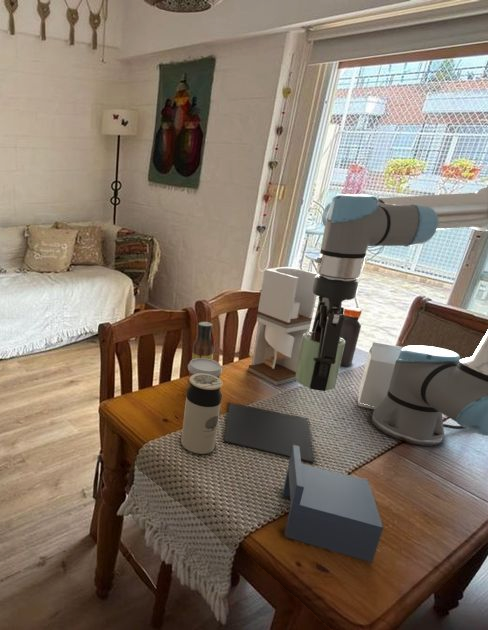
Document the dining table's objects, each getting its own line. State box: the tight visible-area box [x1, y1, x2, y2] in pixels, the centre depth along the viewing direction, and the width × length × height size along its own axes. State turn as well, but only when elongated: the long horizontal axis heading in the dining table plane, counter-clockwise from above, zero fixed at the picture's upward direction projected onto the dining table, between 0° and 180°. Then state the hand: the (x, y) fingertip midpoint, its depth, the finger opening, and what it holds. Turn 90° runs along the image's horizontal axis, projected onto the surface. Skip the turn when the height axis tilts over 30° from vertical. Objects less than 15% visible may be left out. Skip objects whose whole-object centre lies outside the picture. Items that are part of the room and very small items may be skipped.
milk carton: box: [357, 341, 405, 411], centre depth 125 cm, size 7×7×19 cm
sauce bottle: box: [191, 321, 214, 360], centre depth 137 cm, size 7×6×20 cm
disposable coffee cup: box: [187, 358, 223, 387], centre depth 127 cm, size 10×10×12 cm
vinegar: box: [340, 306, 362, 367], centre depth 152 cm, size 7×7×20 cm
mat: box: [223, 402, 314, 464], centre depth 115 cm, size 20×20×1 cm
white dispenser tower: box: [247, 265, 319, 386], centre depth 140 cm, size 11×11×35 cm
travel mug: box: [180, 373, 223, 455], centre depth 106 cm, size 8×8×18 cm
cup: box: [295, 330, 345, 391], centre depth 92 cm, size 8×8×10 cm
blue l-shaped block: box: [282, 445, 384, 564], centre depth 84 cm, size 14×13×12 cm
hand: (314, 380), depth 93 cm, fingers closed on cup, 8 cm apart
